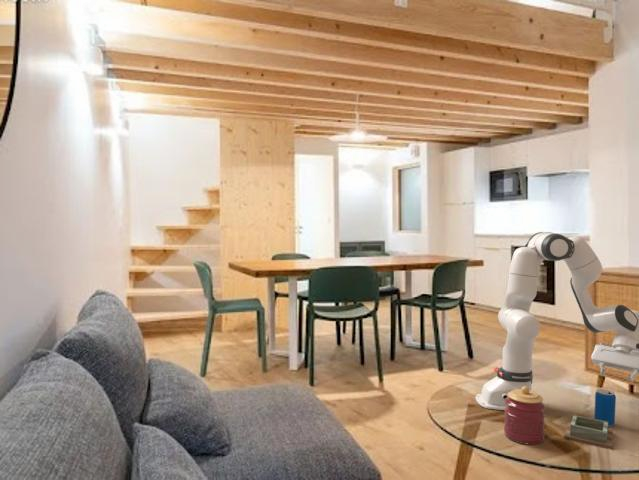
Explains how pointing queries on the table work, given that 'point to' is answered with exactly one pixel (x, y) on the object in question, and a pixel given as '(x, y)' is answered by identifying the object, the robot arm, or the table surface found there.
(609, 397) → the beverage can
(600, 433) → the cradle
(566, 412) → the table surface
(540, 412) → the canister
